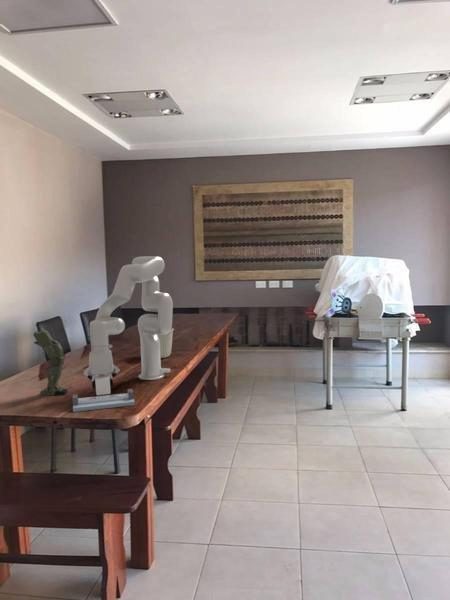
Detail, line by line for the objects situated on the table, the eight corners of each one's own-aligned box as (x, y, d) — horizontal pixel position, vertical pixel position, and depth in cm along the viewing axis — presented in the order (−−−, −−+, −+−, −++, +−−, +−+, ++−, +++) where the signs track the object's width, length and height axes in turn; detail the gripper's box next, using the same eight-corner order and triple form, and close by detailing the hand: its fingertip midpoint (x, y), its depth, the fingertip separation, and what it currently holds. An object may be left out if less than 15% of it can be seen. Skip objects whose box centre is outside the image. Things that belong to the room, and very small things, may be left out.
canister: (177, 353, 293) (176, 319, 291) (171, 360, 275) (170, 324, 273) (148, 353, 295) (147, 319, 293) (140, 360, 277) (139, 324, 275)
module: (109, 388, 215) (108, 371, 214) (110, 393, 207) (109, 376, 206) (95, 389, 213) (94, 372, 212) (96, 395, 205) (95, 377, 204)
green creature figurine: (76, 388, 217) (57, 325, 214) (72, 393, 210) (52, 328, 207) (47, 396, 217) (27, 333, 214) (41, 401, 210) (21, 336, 207)
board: (131, 396, 206) (131, 393, 205) (134, 405, 194) (134, 401, 194) (73, 403, 199) (73, 399, 198) (73, 411, 187) (72, 408, 187)
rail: (132, 395, 202) (132, 388, 202) (133, 399, 197) (133, 391, 197) (73, 401, 195) (72, 394, 195) (72, 405, 190) (72, 398, 190)
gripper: (119, 344, 214) (122, 383, 216) (79, 348, 209) (82, 388, 211) (121, 348, 207) (123, 388, 209) (79, 352, 202) (82, 393, 204)
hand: (102, 388), depth 210 cm, fingers closed on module, 6 cm apart
